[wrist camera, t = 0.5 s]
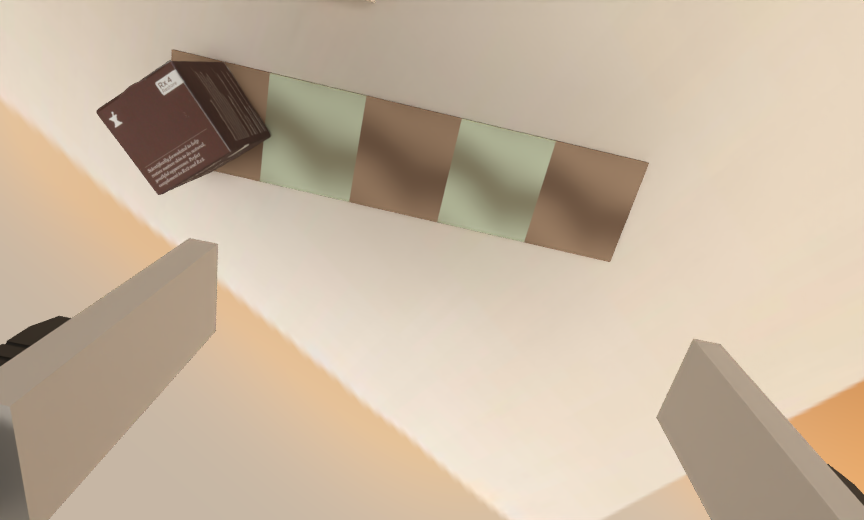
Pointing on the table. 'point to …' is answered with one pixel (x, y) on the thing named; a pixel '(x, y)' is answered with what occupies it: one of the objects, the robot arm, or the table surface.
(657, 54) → the table surface
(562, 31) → the table surface
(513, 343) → the table surface
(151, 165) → the box
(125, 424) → the robot arm
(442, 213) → the track
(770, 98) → the table surface
